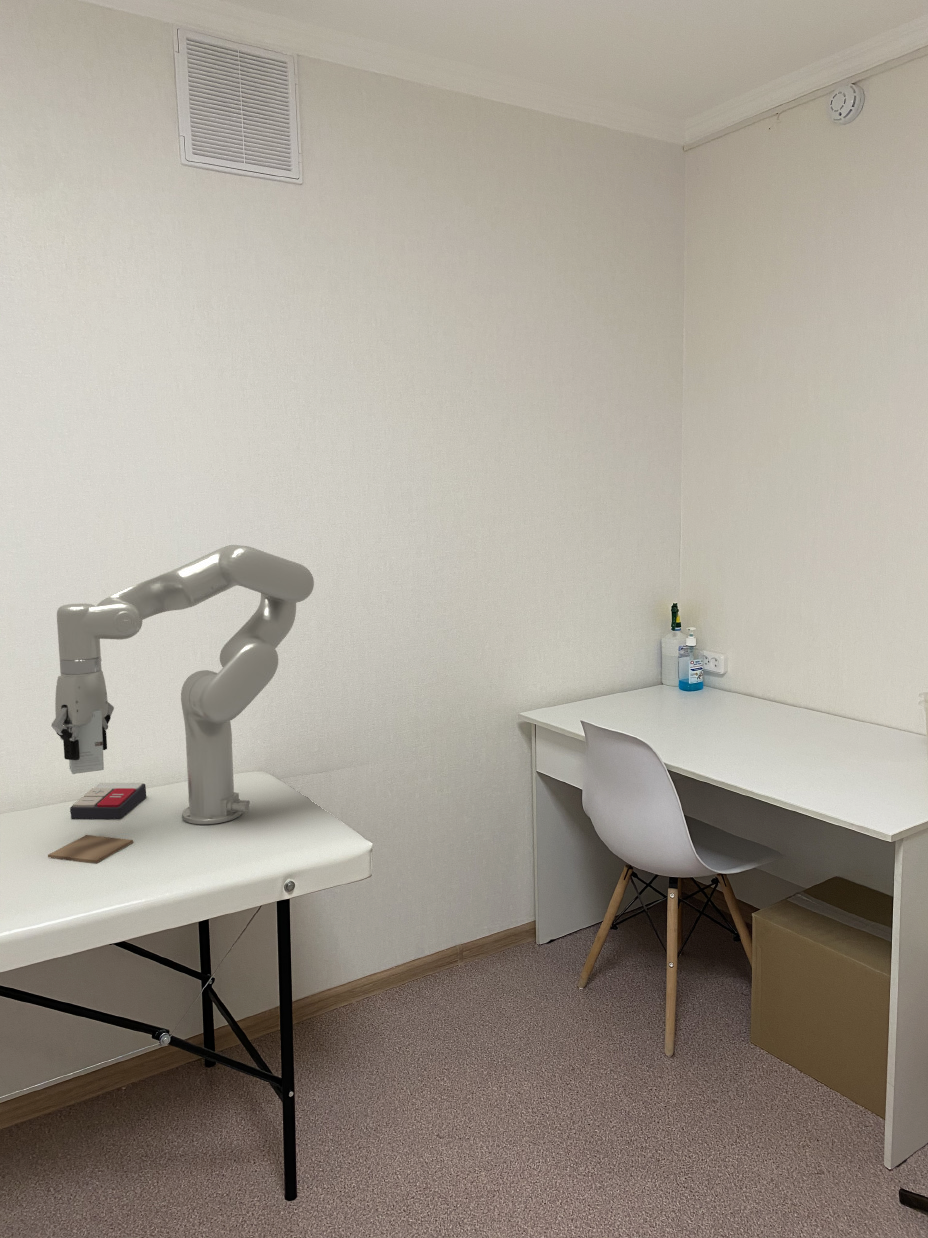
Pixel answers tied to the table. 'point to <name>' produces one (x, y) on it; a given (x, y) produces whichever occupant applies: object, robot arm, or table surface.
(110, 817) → the black and red case
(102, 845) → the walnut board
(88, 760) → the skincare box
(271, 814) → the table surface
